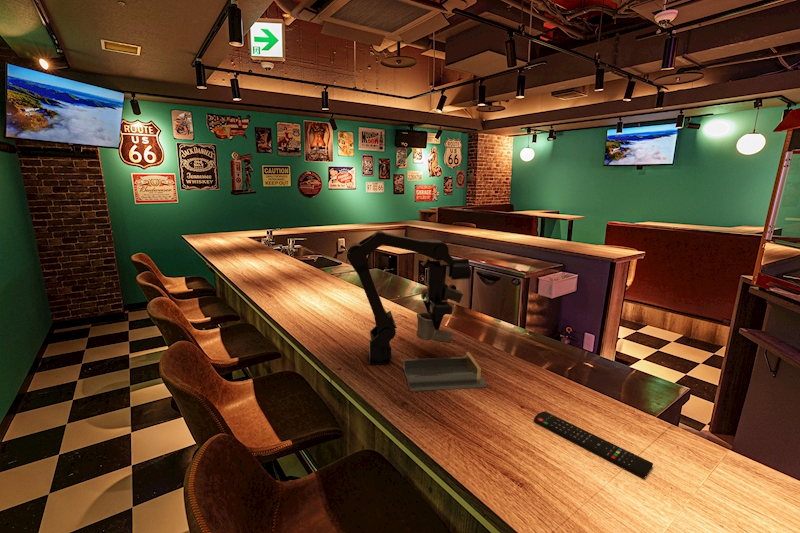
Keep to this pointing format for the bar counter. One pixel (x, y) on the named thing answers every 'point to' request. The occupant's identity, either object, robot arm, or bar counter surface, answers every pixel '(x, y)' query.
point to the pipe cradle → (443, 373)
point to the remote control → (595, 444)
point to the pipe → (431, 329)
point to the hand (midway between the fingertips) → (434, 326)
